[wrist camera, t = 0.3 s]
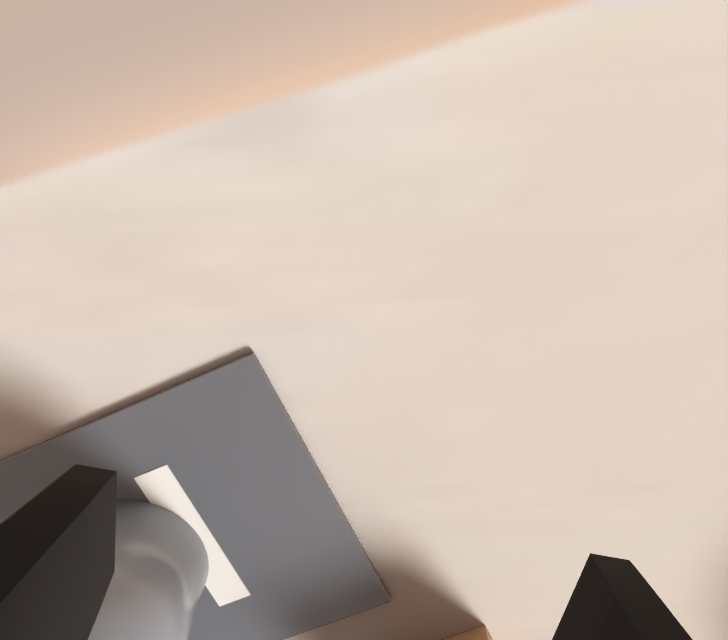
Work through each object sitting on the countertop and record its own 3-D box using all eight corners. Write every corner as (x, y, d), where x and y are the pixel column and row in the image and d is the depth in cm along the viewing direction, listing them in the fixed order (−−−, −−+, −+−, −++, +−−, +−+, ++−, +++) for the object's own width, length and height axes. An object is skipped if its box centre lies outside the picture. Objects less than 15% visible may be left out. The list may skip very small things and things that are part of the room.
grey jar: (113, 635, 24) (43, 790, 19) (35, 531, 23) (-64, 668, 18) (234, 590, 23) (195, 739, 18) (162, 479, 22) (97, 607, 17)
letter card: (47, 719, 26) (44, 724, 26) (-123, 514, 23) (-128, 518, 23) (390, 597, 24) (390, 602, 24) (253, 351, 21) (252, 355, 20)
